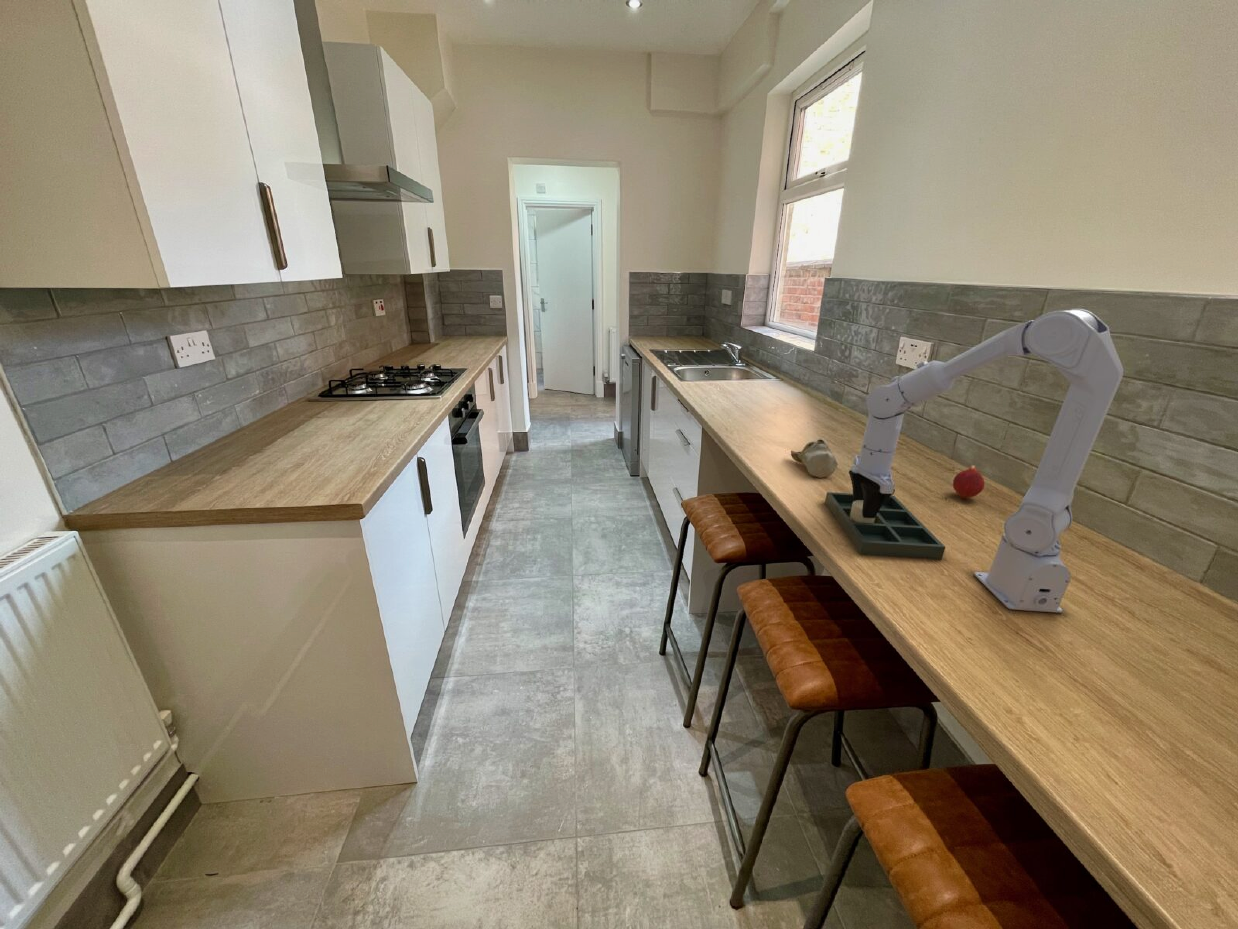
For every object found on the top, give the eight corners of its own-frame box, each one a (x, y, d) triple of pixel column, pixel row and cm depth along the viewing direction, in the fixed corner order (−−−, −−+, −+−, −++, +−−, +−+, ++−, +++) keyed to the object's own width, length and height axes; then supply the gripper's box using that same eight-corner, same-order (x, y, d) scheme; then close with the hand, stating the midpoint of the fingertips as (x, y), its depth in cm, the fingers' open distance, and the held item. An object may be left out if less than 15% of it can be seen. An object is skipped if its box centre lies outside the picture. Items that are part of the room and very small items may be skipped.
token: (878, 524, 96) (881, 510, 95) (854, 523, 96) (857, 509, 95) (869, 513, 100) (872, 500, 99) (846, 512, 100) (849, 499, 99)
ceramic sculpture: (806, 445, 117) (791, 430, 131) (800, 479, 120) (787, 460, 134) (851, 448, 116) (832, 432, 130) (845, 482, 119) (827, 463, 133)
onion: (983, 505, 109) (994, 472, 106) (955, 502, 110) (965, 469, 107) (971, 494, 115) (982, 462, 112) (944, 491, 116) (954, 460, 113)
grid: (941, 559, 88) (945, 547, 87) (860, 554, 89) (862, 542, 88) (891, 506, 108) (894, 495, 107) (824, 502, 109) (826, 492, 108)
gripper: (843, 434, 99) (831, 494, 104) (871, 460, 86) (856, 527, 91) (879, 435, 99) (865, 496, 104) (913, 462, 85) (895, 530, 91)
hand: (863, 511), depth 98 cm, fingers closed on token, 4 cm apart
